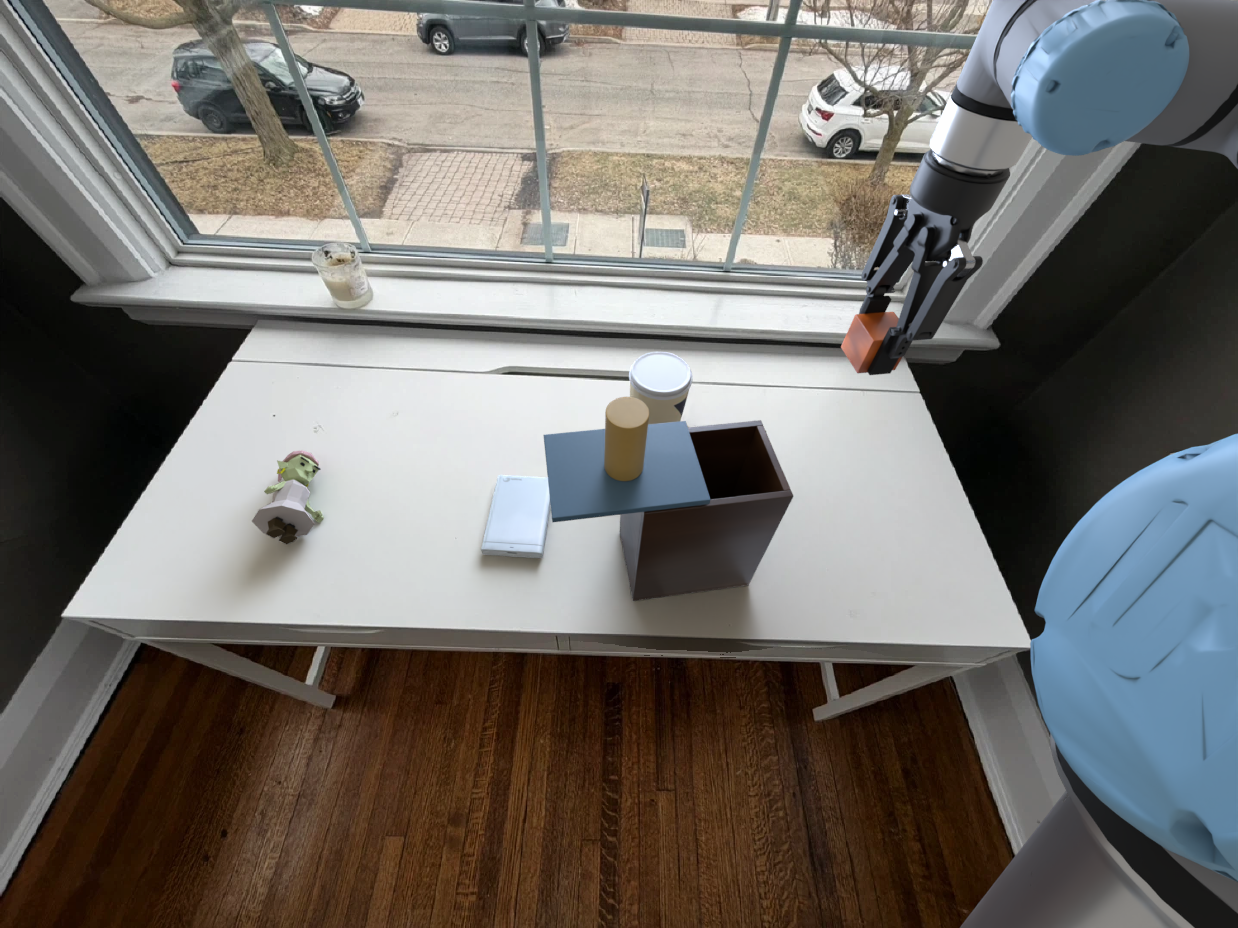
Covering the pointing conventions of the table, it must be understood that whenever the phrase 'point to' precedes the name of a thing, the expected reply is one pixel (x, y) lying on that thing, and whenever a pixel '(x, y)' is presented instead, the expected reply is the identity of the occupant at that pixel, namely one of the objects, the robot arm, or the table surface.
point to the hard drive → (518, 517)
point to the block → (867, 338)
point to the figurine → (290, 500)
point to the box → (711, 518)
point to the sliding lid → (623, 466)
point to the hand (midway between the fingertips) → (868, 356)
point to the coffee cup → (661, 385)
